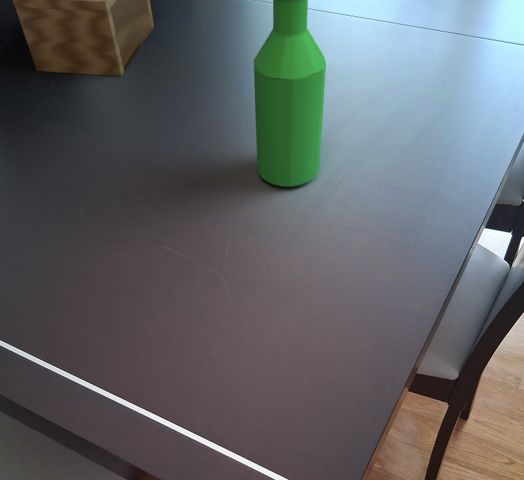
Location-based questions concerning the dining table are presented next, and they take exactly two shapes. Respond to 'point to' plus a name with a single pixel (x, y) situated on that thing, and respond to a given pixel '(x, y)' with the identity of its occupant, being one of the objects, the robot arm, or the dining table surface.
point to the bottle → (289, 98)
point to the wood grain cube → (85, 34)
